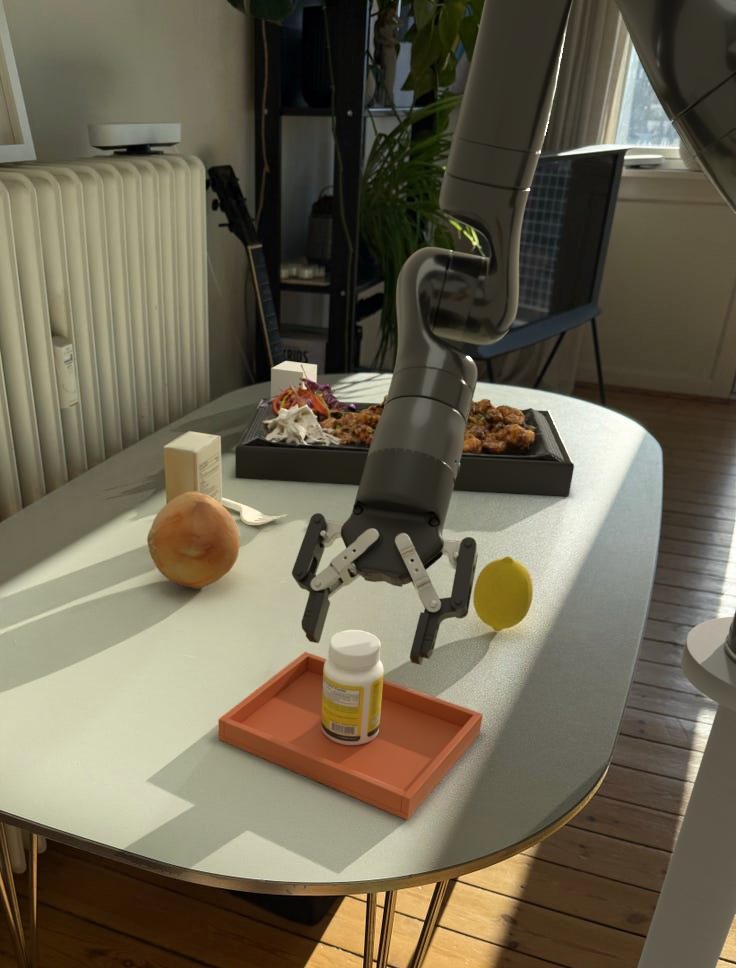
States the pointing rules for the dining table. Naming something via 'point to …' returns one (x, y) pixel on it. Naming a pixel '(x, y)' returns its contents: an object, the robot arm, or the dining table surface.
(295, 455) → the food platter
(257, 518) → the fork
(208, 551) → the onion
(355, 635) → the supplement bottle
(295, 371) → the off-white cube
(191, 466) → the cosmetic box
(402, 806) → the tray
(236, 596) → the dining table surface
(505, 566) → the lemon
